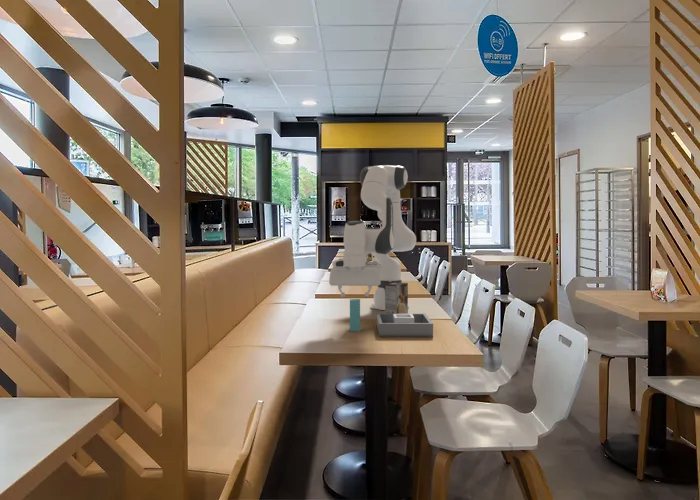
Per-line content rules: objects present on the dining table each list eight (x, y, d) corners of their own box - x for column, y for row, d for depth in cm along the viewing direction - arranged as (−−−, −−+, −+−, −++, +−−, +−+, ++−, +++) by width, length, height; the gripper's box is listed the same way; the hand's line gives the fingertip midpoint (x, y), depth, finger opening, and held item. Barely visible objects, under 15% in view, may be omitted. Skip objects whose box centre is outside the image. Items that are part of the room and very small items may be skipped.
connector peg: (350, 328, 197) (349, 299, 196) (360, 328, 197) (359, 299, 196) (349, 331, 193) (349, 300, 192) (360, 331, 193) (360, 300, 192)
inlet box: (376, 325, 203) (376, 311, 202) (425, 325, 203) (425, 311, 202) (379, 337, 183) (379, 321, 182) (433, 337, 183) (433, 321, 182)
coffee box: (395, 317, 219) (395, 281, 218) (408, 319, 215) (408, 282, 214) (384, 321, 212) (384, 284, 211) (397, 322, 208) (397, 285, 207)
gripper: (380, 261, 196) (380, 295, 197) (329, 261, 196) (329, 295, 197) (381, 262, 190) (381, 298, 190) (328, 262, 190) (328, 298, 191)
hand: (354, 297), depth 194 cm, fingers open, 8 cm apart
